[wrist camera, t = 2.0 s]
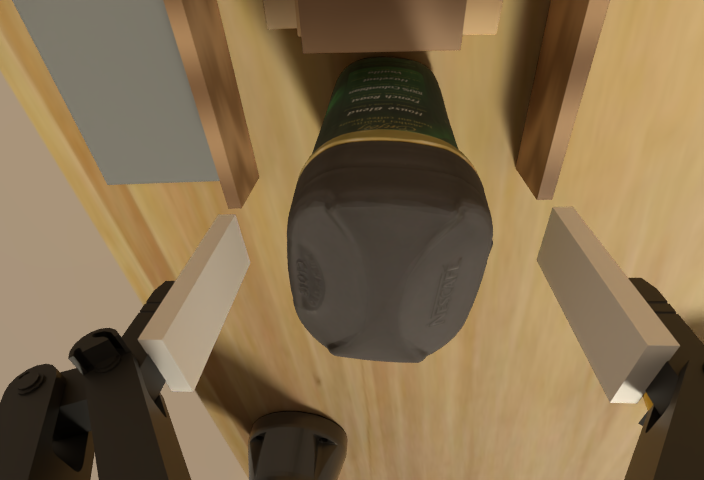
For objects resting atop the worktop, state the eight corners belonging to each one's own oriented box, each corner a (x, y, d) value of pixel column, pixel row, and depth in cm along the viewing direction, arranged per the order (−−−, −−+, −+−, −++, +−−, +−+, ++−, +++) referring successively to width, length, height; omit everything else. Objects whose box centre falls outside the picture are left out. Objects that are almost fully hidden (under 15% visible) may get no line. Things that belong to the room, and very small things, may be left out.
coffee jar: (330, 51, 25) (257, 174, 10) (446, 56, 25) (545, 189, 10) (330, 179, 31) (285, 375, 16) (425, 184, 31) (468, 389, 16)
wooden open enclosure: (528, 167, 29) (552, 199, 25) (247, 177, 31) (228, 208, 27) (592, -107, 20) (646, -125, 16) (184, -66, 22) (140, -74, 18)
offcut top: (452, 42, 20) (460, 50, 18) (310, 45, 21) (303, 53, 19) (463, -50, 18) (473, -52, 16) (302, -44, 19) (293, -45, 17)
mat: (230, 178, 31) (229, 180, 31) (110, 182, 32) (107, 184, 32) (172, -23, 23) (169, -23, 23) (12, -9, 24) (8, -8, 24)
